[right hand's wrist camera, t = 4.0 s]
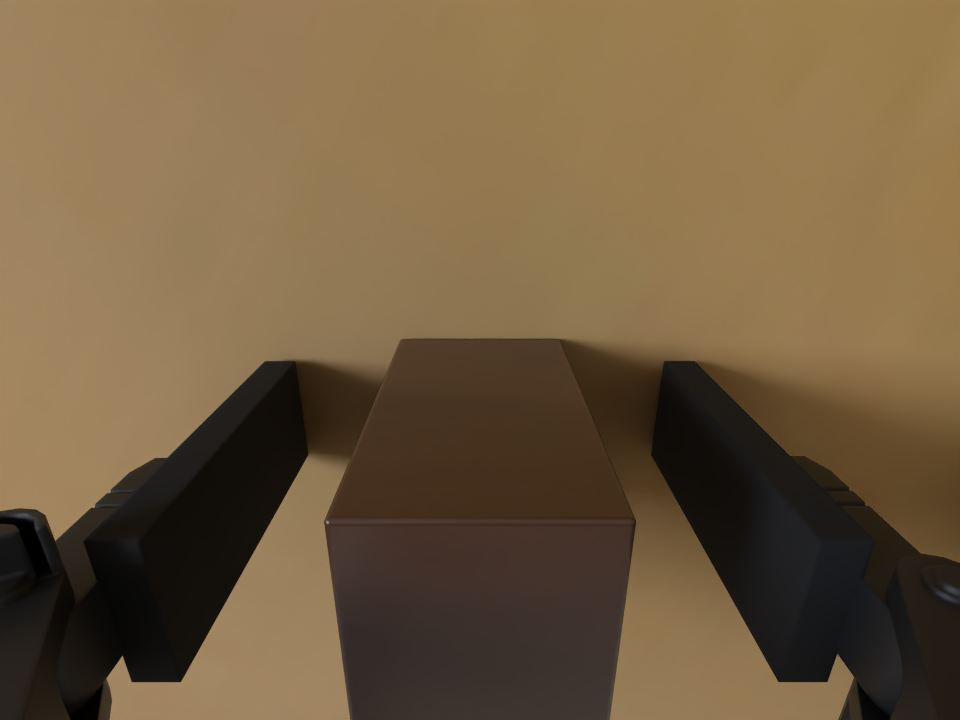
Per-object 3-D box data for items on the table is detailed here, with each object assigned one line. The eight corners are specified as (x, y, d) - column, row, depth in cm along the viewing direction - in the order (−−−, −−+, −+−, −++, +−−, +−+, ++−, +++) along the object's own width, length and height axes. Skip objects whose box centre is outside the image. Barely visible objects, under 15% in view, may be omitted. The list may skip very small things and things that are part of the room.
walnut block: (551, 474, 15) (610, 733, 8) (407, 474, 15) (350, 733, 8) (560, 337, 13) (638, 520, 7) (399, 337, 13) (321, 519, 7)
